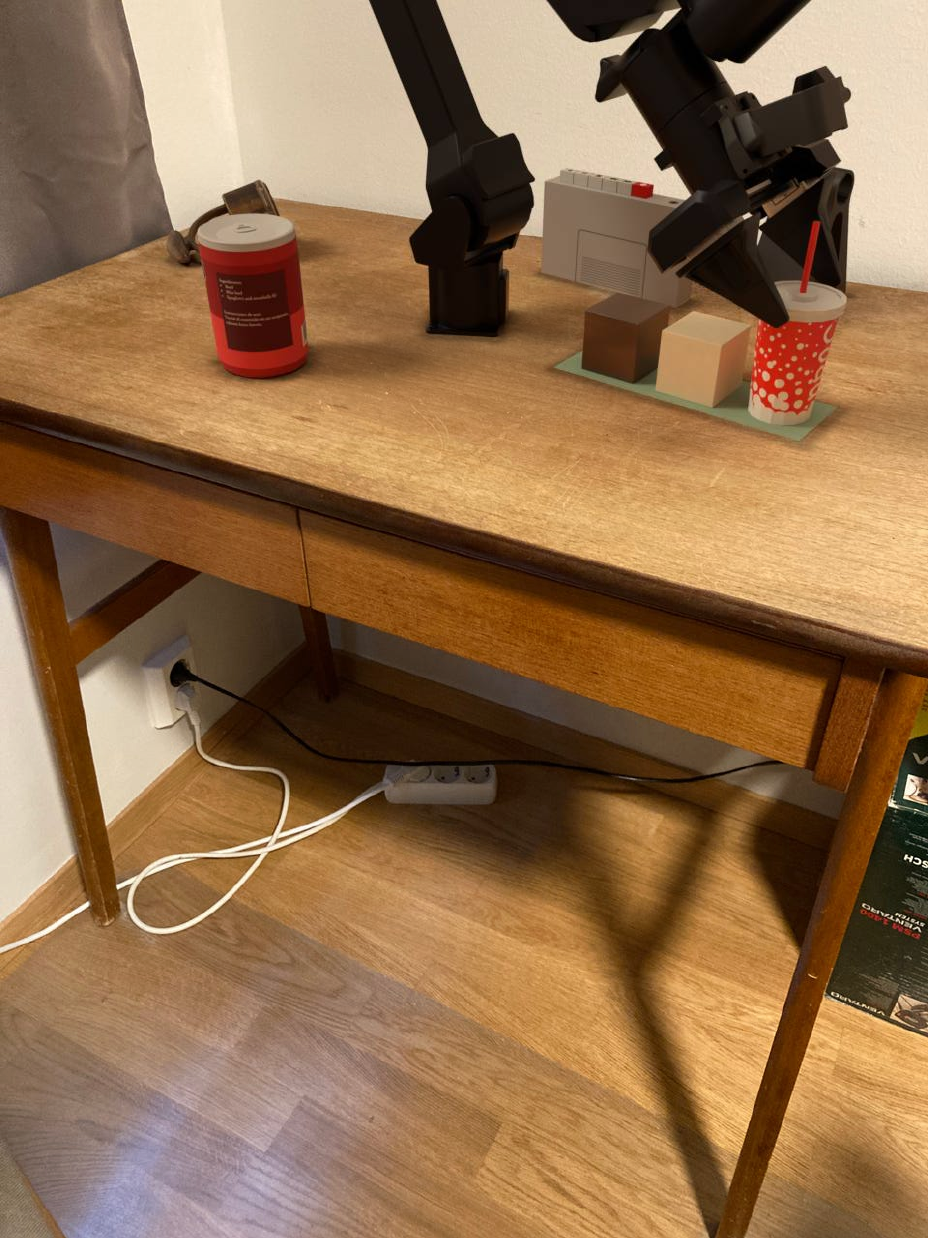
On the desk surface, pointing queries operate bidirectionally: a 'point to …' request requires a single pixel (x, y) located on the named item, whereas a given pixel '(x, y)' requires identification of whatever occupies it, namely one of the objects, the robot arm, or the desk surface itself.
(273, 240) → the canned food
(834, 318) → the beverage cup
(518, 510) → the desk surface
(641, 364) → the walnut block
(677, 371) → the cream block
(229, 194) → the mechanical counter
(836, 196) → the phone stand
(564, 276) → the cassette player
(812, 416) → the line mat
